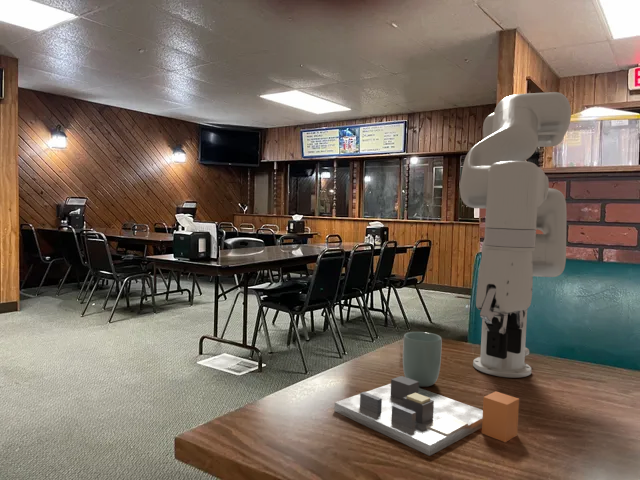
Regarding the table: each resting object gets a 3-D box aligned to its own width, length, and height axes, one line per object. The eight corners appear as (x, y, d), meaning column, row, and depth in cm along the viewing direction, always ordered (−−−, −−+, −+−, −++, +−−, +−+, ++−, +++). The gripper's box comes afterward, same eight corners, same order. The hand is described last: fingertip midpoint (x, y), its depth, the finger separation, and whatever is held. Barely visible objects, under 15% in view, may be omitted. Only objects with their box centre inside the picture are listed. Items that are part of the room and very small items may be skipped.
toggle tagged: (413, 410, 82) (414, 391, 82) (433, 418, 79) (433, 398, 79) (402, 415, 80) (403, 395, 80) (422, 423, 77) (423, 402, 77)
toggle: (400, 391, 91) (401, 375, 91) (418, 397, 88) (418, 381, 88) (390, 395, 89) (391, 379, 89) (408, 401, 86) (408, 385, 86)
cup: (440, 392, 96) (442, 342, 95) (401, 388, 97) (403, 339, 96) (438, 379, 103) (441, 333, 103) (402, 375, 105) (404, 330, 104)
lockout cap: (493, 426, 81) (495, 391, 80) (517, 435, 78) (519, 398, 77) (481, 433, 78) (483, 396, 78) (505, 442, 75) (507, 404, 75)
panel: (398, 388, 97) (399, 369, 97) (491, 422, 82) (492, 399, 82) (334, 411, 85) (335, 389, 84) (429, 455, 70) (430, 429, 70)
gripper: (511, 238, 84) (506, 341, 85) (459, 239, 73) (454, 357, 74) (555, 241, 79) (549, 350, 80) (506, 243, 68) (500, 370, 69)
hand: (503, 353), depth 77 cm, fingers open, 3 cm apart
